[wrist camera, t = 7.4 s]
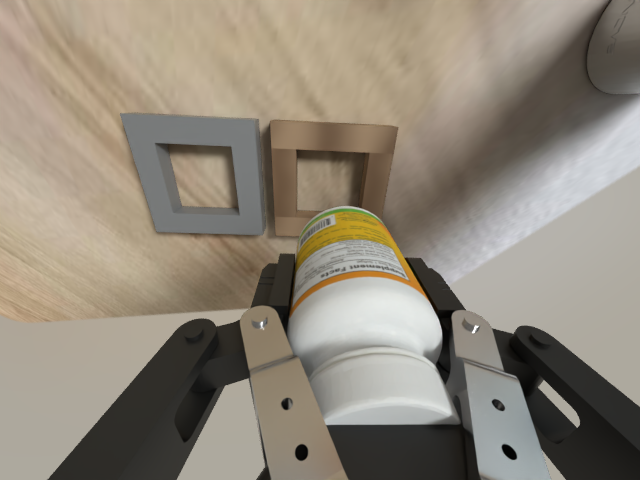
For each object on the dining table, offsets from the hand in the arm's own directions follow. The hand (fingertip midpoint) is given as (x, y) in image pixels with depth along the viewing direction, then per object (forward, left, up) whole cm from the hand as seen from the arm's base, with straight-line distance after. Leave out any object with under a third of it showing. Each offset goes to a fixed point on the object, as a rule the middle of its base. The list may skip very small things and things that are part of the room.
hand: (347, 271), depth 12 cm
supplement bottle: (0, 0, -3) cm, 3 cm away
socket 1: (+13, 0, -16) cm, 21 cm away
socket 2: (0, 0, -16) cm, 16 cm away
